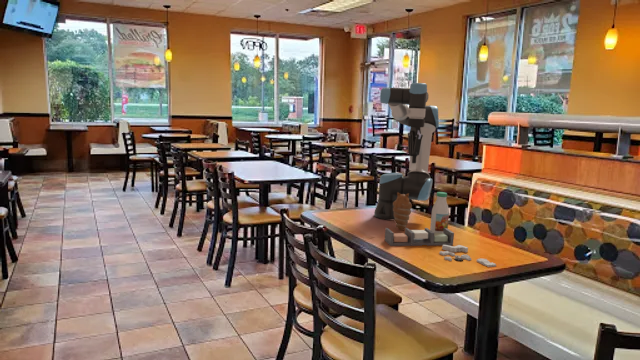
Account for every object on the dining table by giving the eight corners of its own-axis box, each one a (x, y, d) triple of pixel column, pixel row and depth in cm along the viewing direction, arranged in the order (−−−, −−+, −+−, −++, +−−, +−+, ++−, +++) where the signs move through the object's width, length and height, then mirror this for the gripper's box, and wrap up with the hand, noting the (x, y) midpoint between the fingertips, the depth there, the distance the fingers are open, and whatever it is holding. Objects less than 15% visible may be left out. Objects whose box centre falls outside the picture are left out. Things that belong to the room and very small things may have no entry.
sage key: (429, 238, 205) (430, 233, 205) (442, 238, 206) (443, 233, 206) (434, 241, 200) (434, 236, 200) (447, 241, 201) (447, 236, 201)
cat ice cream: (390, 230, 220) (392, 193, 217) (393, 226, 227) (395, 190, 224) (409, 233, 217) (411, 195, 214) (411, 229, 224) (414, 192, 221)
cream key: (410, 235, 204) (410, 230, 203) (423, 235, 205) (423, 230, 204) (414, 238, 199) (414, 233, 198) (427, 238, 200) (428, 233, 199)
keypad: (384, 240, 204) (385, 228, 203) (445, 239, 208) (446, 227, 207) (390, 245, 196) (391, 233, 195) (453, 245, 200) (454, 232, 200)
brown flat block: (390, 238, 202) (390, 233, 202) (403, 238, 203) (403, 233, 203) (393, 241, 198) (394, 236, 197) (407, 241, 198) (407, 236, 198)
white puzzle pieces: (450, 271, 169) (451, 265, 169) (417, 251, 191) (417, 246, 191) (496, 267, 176) (497, 261, 176) (459, 248, 198) (459, 243, 198)
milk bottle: (427, 235, 214) (431, 192, 211) (432, 232, 221) (435, 190, 217) (444, 238, 210) (448, 195, 207) (448, 234, 217) (452, 192, 214)
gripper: (403, 117, 216) (399, 167, 219) (413, 118, 203) (409, 172, 207) (418, 117, 217) (415, 168, 221) (429, 118, 204) (425, 172, 208)
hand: (412, 170), depth 214 cm, fingers closed
